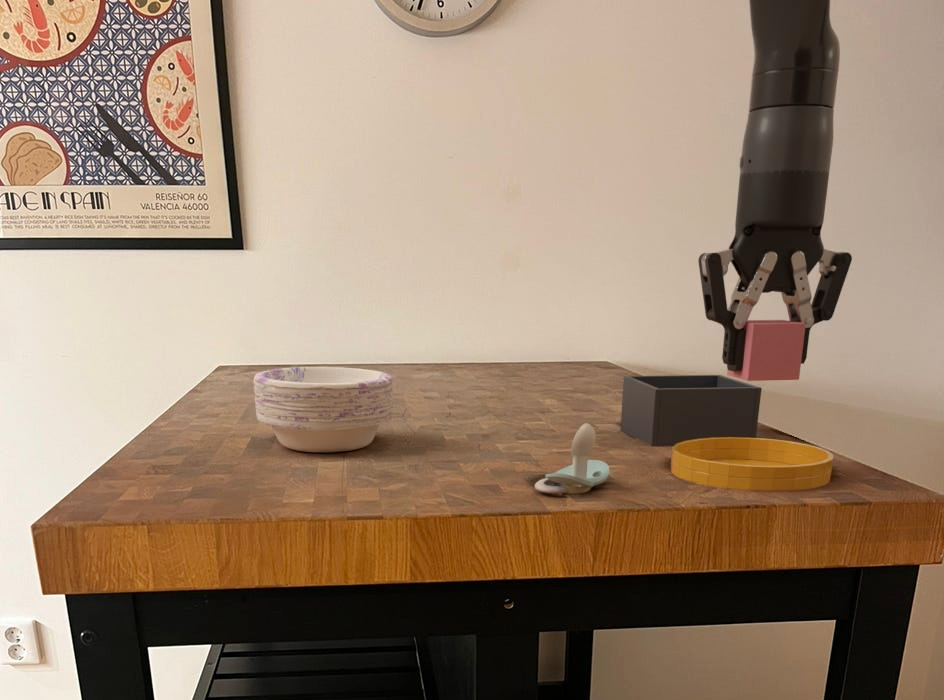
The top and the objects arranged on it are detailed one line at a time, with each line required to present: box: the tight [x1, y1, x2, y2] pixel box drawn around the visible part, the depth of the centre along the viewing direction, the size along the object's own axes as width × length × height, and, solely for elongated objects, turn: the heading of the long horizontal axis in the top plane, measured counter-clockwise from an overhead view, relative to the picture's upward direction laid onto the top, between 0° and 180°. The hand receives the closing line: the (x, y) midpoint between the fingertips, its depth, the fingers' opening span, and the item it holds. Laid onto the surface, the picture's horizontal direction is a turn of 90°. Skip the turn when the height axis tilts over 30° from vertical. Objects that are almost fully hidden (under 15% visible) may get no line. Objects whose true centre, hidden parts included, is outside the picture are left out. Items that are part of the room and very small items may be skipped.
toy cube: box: [726, 319, 806, 382], centre depth 90 cm, size 5×5×5 cm
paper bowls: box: [252, 366, 394, 454], centre depth 107 cm, size 15×15×8 cm
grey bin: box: [620, 374, 762, 448], centre depth 112 cm, size 12×12×6 cm
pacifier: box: [534, 422, 611, 495], centre depth 87 cm, size 7×6×6 cm
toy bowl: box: [670, 437, 835, 492], centre depth 94 cm, size 15×15×2 cm
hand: (763, 369), depth 90 cm, fingers closed on toy cube, 5 cm apart
